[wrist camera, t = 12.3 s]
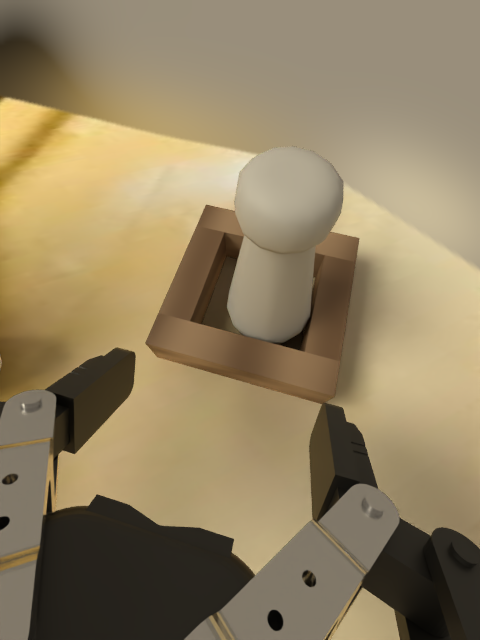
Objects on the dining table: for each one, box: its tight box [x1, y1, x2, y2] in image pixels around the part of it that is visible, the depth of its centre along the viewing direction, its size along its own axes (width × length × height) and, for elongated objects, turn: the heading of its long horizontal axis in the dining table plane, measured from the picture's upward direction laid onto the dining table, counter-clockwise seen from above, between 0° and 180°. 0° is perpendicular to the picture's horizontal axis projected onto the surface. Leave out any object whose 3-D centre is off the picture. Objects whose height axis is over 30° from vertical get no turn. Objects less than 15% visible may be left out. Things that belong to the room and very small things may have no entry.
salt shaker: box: [227, 147, 343, 344], centre depth 17 cm, size 6×6×13 cm
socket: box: [146, 205, 359, 404], centre depth 22 cm, size 12×12×3 cm
